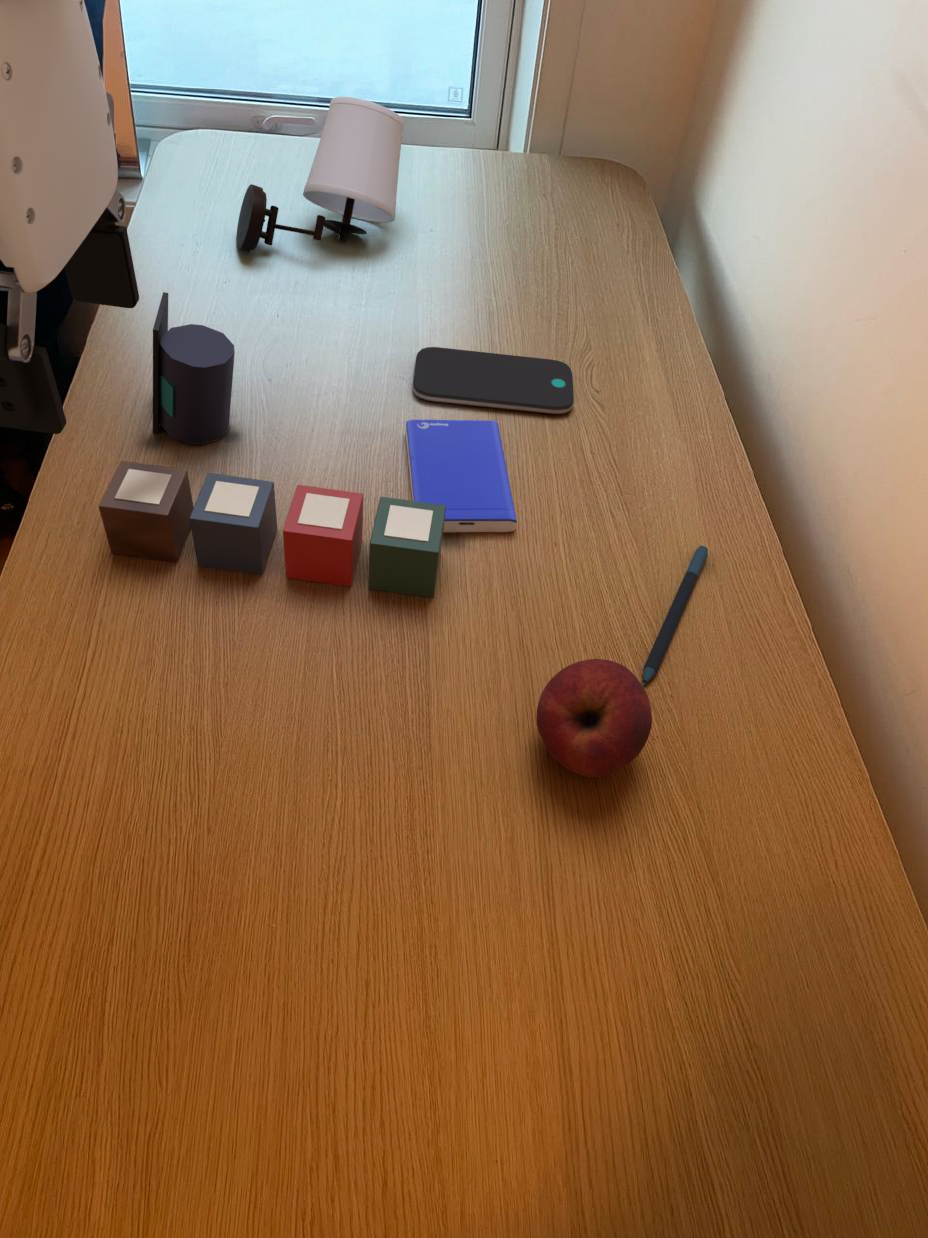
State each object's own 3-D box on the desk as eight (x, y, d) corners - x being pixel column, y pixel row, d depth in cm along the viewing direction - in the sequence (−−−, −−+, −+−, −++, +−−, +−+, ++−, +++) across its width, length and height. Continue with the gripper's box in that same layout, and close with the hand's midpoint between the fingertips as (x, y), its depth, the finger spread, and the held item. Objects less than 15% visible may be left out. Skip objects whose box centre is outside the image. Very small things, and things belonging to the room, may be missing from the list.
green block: (368, 589, 71) (369, 542, 67) (378, 542, 74) (380, 494, 70) (433, 598, 71) (439, 551, 67) (440, 551, 74) (446, 504, 70)
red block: (285, 577, 71) (282, 529, 67) (299, 531, 74) (297, 483, 70) (351, 586, 71) (352, 539, 67) (362, 540, 74) (363, 492, 70)
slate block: (197, 566, 71) (188, 517, 67) (214, 520, 74) (207, 471, 70) (263, 574, 71) (258, 526, 67) (277, 528, 74) (273, 480, 70)
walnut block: (111, 554, 70) (97, 504, 67) (132, 508, 74) (120, 459, 70) (177, 563, 71) (167, 514, 67) (195, 517, 74) (187, 468, 70)
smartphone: (574, 409, 86) (411, 392, 85) (573, 417, 86) (411, 400, 86) (572, 360, 91) (417, 343, 90) (570, 368, 91) (417, 351, 91)
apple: (503, 745, 63) (521, 675, 57) (576, 682, 67) (599, 611, 61) (588, 818, 60) (616, 753, 54) (659, 748, 64) (692, 680, 58)
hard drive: (405, 418, 82) (416, 519, 74) (498, 419, 83) (517, 518, 75) (405, 432, 83) (415, 533, 75) (496, 433, 84) (515, 532, 76)
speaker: (128, 430, 79) (120, 322, 71) (163, 394, 83) (159, 289, 75) (211, 461, 79) (212, 356, 71) (242, 424, 83) (246, 321, 75)
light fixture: (393, 289, 100) (428, 120, 97) (248, 245, 93) (281, 61, 90) (363, 292, 109) (394, 137, 106) (229, 252, 102) (258, 85, 99)
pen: (634, 686, 68) (638, 677, 67) (694, 551, 77) (699, 541, 76) (648, 692, 68) (652, 683, 67) (707, 556, 77) (711, 546, 76)
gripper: (-46, -171, 35) (59, 252, 49) (-341, -26, 24) (-102, 472, 37) (151, -141, 36) (203, 273, 49) (-53, 15, 24) (85, 498, 38)
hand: (70, 359), depth 43 cm, fingers open, 9 cm apart
